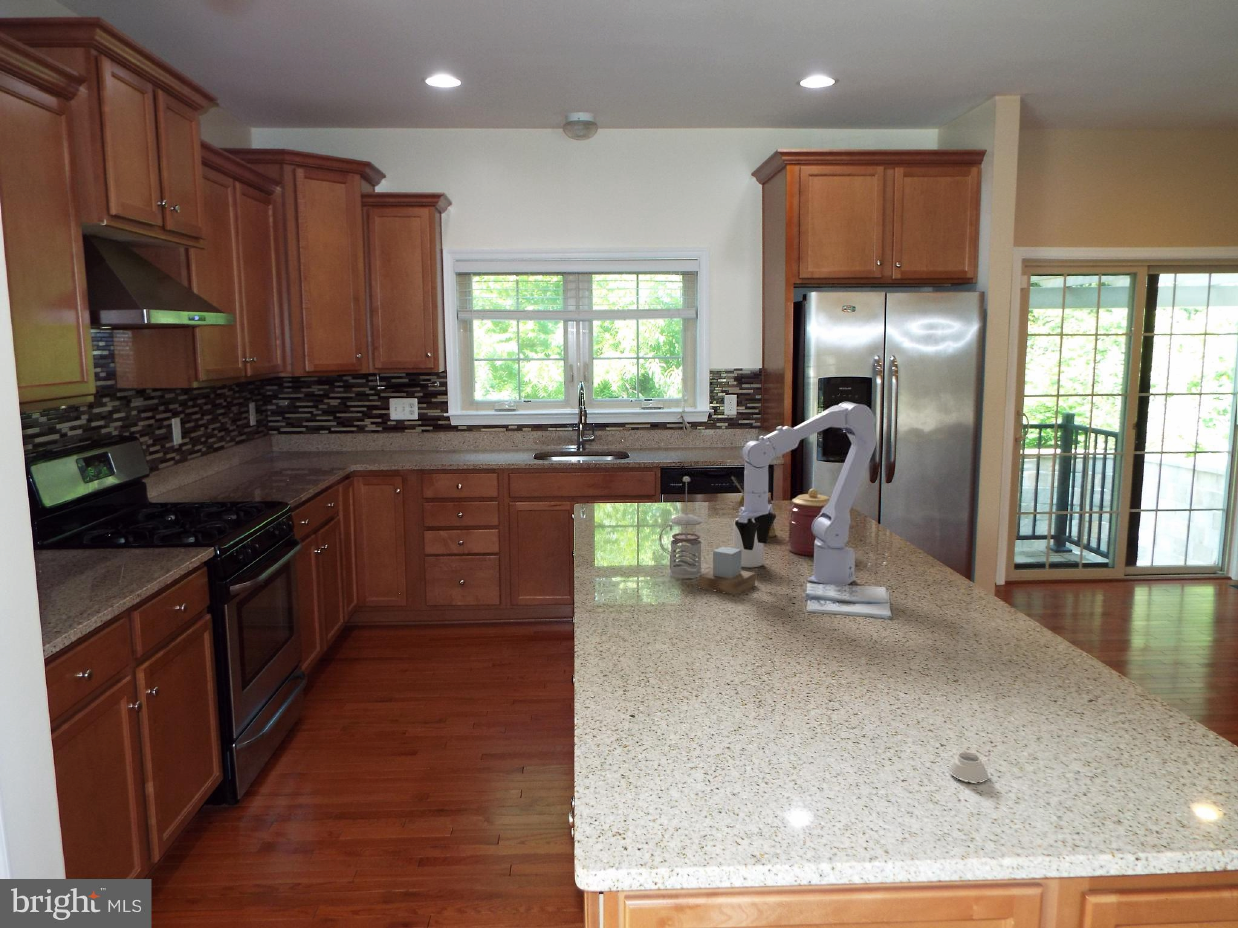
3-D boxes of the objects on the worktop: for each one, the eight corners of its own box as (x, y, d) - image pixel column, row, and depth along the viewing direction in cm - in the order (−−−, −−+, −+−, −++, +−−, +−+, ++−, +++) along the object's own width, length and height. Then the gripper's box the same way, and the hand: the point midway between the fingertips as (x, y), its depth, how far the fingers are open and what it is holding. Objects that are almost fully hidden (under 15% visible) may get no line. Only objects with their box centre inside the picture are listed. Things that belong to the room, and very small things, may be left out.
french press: (702, 579, 213) (704, 480, 209) (656, 577, 216) (657, 478, 212) (706, 568, 223) (708, 473, 219) (662, 566, 225) (663, 472, 221)
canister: (831, 545, 247) (833, 484, 244) (838, 557, 234) (840, 493, 231) (785, 544, 248) (787, 484, 245) (789, 556, 235) (791, 492, 233)
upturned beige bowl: (954, 764, 123) (943, 778, 119) (956, 744, 122) (945, 758, 118) (991, 774, 120) (981, 789, 116) (993, 755, 119) (983, 769, 115)
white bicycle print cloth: (889, 594, 203) (889, 586, 202) (892, 622, 183) (892, 613, 183) (806, 588, 208) (806, 579, 207) (800, 615, 188) (801, 605, 188)
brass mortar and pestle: (728, 531, 264) (729, 473, 262) (772, 531, 265) (774, 473, 262) (732, 538, 256) (733, 478, 253) (778, 538, 256) (779, 478, 253)
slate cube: (741, 573, 208) (741, 549, 207) (731, 578, 203) (731, 553, 203) (722, 570, 210) (723, 546, 209) (712, 575, 206) (713, 550, 205)
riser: (755, 584, 208) (755, 573, 208) (735, 595, 200) (735, 582, 200) (718, 578, 214) (718, 566, 214) (698, 588, 206) (698, 575, 206)
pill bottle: (762, 560, 231) (763, 505, 228) (764, 568, 223) (765, 512, 220) (732, 559, 231) (733, 505, 229) (733, 568, 224) (734, 511, 221)
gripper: (754, 485, 215) (753, 537, 217) (727, 494, 203) (726, 550, 205) (780, 487, 211) (779, 541, 213) (754, 497, 199) (753, 554, 201)
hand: (755, 546), depth 209 cm, fingers open, 7 cm apart
